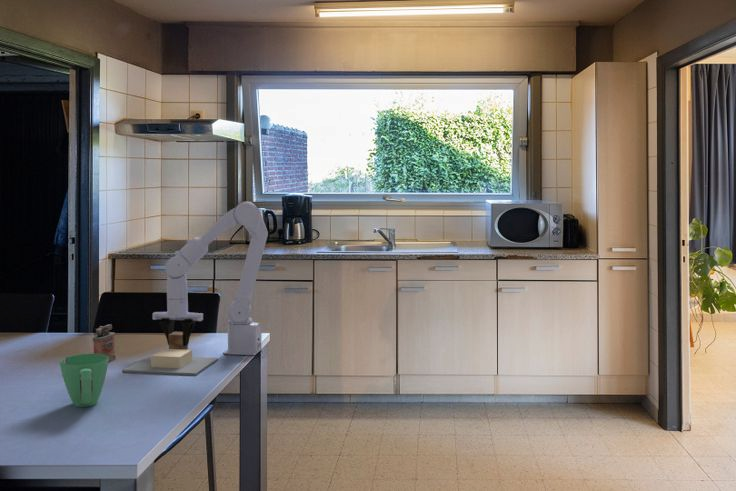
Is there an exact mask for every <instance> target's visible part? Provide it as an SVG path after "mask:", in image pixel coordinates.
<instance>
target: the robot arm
mask: <svg viewBox="0 0 736 491" xmlns="http://www.w3.org/2000/svg"><path fill="white" fill-rule="evenodd" d="M239 223H240V224H241V225H242V226H244V227H245V230H247V232H248V233H249V235H250V241H249V245H248V249H247V252H246V257H245V261H244V264H243V268H242V271H241V276H240V280H239V283H238V287H237V291H236V294H235V297H234V299H233V300H232V301H231V302H230V305H229V308H228V312H227V313H228V317H229V319H228V320H227V349H226V350H225V351H223V352H222V354H223V355H239V356H256V355H257V354H259V352H261V351H262V350H263V346H262V325H261V323H259V322H256V321H255V322H254V320H253V318H252V317H251V315H252V314H251V313H252V304H251V300H252V296H253V293H254V288H255V284H256V282H257V277H258V274H259V271H260V266H261V263H262V260H263V259H262V258H263V254H264V251H265V247H266V243H267V240H268V236H269V232H268V229H267V227H266V223H265V221H264V219H263V216H262V212H261V211H260V209H259V208H258V207H257V206H256V204H254V203H253V202H251V201H242V202H240V203H238V204H237V206H236V207H234V208H232V209H230V210H229V211H227V212H226V213H225V214H223V215H222V216H221V217H220V218H219V219H218V220H217V221H216V222H214V224H213V225H211V227H210V228H208V229H207V231H205V233H204V234H202V235H201V236H200V237H199V236H198V237H197V236H196V237H192V238H189V239H187V240H186V244H185V245H184V246H182V247H181V248H180V249H179V250H176V251H175V252H174V255H175V256H172V257H171V258H168V260H167V262H166V263H165V267H164V268H165V272H166V274H167V275H166V280H167V282H166V307H167V308H166V309H167V310H166V311H154V312H153V313H152V320H153V321H154V320H155V321H156V320H161V321H159V325H160V327H161V329H162V331H163V333H164V335H165V337H166V341H167V345H168V346H169V334H171V333H173V332H174V331H175V330H174V328H175V321H182V322H180V325H181V328H182V331H181V332H183V346H186V345H188V346H189V342H190V338H191V335H192V331H193V329H194V328H195V327H194V326H195V325H196V322H202V321H203V320H204V313H202V312H200V313H199V312H190V311H189V301H188V300H189V299H188V298H189V297H188V289H189V288H188V281H187V280H188V278H187V277H188V276H187V272H188V271H189V267H193V266H195V264H196V263H198V261H200V260H201V259H202V258H203V257H204V256H205V255H206V254H207V253H208V252H209V245H211V243H212V242H213V241H214V240H216V238H218V237H219V236H220V235H221V234H222V233H224V231H226V230H227V229H228V228H230V227H234V226H238V224H239Z"/></svg>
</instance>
